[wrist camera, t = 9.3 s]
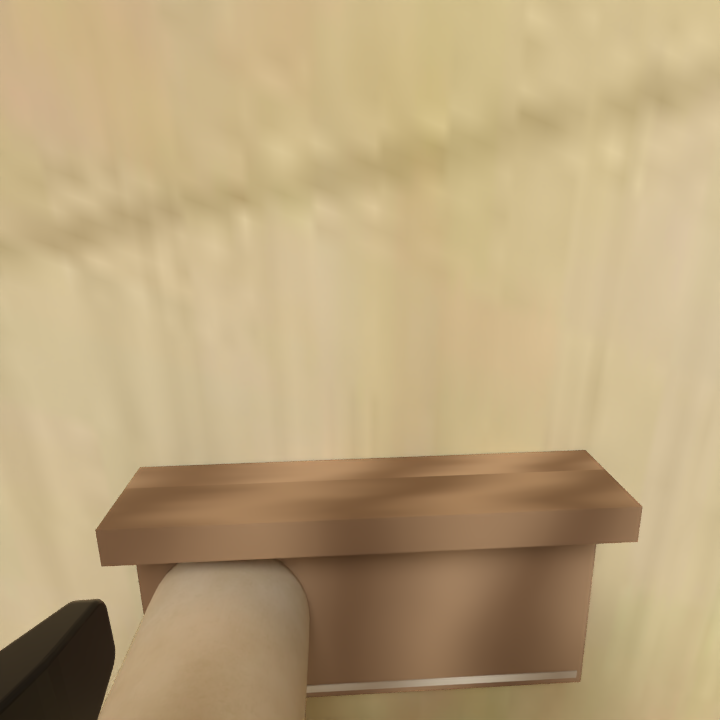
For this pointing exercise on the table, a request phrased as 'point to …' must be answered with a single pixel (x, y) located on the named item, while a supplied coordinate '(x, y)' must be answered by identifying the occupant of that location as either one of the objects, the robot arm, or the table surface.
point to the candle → (218, 647)
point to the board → (398, 557)
